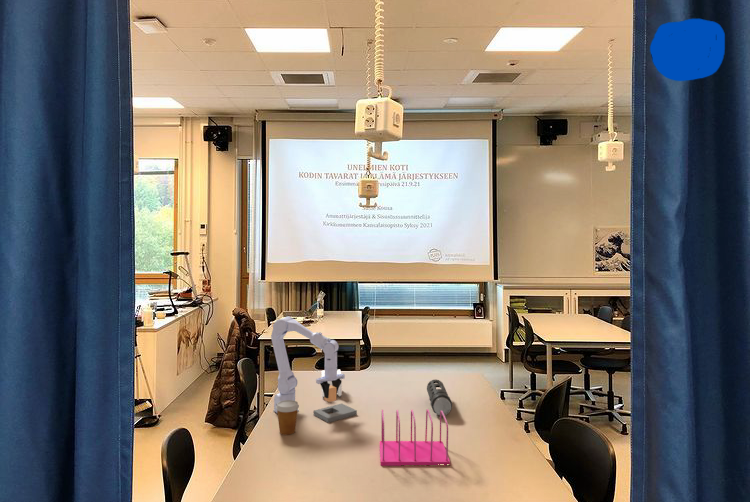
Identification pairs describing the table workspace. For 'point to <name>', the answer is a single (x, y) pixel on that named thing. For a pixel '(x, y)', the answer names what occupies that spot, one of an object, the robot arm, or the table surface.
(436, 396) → the perforated grey cylinder
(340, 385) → the cable organizer
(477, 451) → the table surface
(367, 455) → the table surface
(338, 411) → the socket plate
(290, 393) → the robot arm
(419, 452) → the file sorter
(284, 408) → the disposable coffee cup
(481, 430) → the table surface
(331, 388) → the orange rectangular block
